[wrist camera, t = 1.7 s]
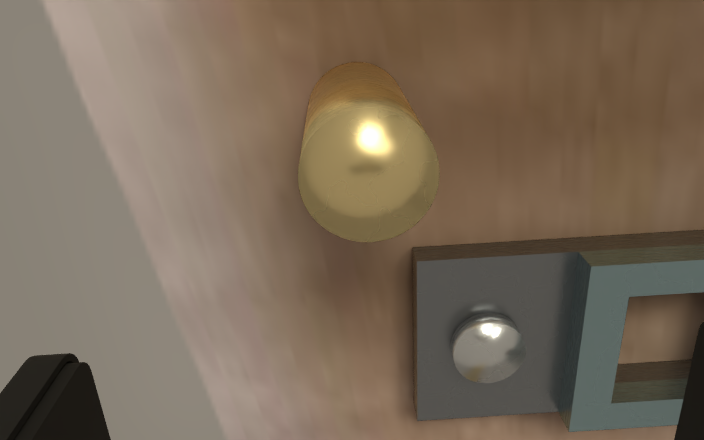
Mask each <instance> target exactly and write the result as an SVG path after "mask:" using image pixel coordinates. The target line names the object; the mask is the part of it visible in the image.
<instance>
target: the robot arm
mask: <svg viewBox="0 0 704 440" xmlns="http://www.w3.org/2000/svg"><path fill="white" fill-rule="evenodd" d="M0 440H111V439H110V436H109V433H108V429H107V425H106V422H105V418H104V415H103V411H102V407H101V404H100V400H99V397H98V393H97V390H96V386H95V383H94V379H93V375H92V372H91V369H90V367H89V365H88V364H87V363H85V362H82V363H81V362H80V363H79V361H78V359H77V357H76V356H75V355H73V354H70V353H69V354H54V355H39V356H32V357H30V358H28V359H27V360H26V361H25V363H24V364H23V365H22V366H21V367H20V369H19V370H18V371H17V373H16V374H15V375H14V376H13V378H12V379H11V380H10V382H9V383H8V384H7V385H6V387H5V388H4V389H3V391H2V392H1V393H0ZM674 440H704V322H703V323H702V324H701V326H700V328H699V331H698V336H697V340H696V345H695V349H694V354H693V358H692V363H691V367H690V372H689V376H688V381H687V385H686V390H685V394H684V399H683V403H682V408H681V412H680V417H679V421H678V425H677V430H676V434H675V439H674Z"/></svg>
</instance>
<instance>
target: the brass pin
mask: <svg viewBox="0 0 704 440" xmlns="http://www.w3.org/2000/svg"><path fill="white" fill-rule="evenodd" d="M439 175H440V173H439V163H438V158H437V155H436V152H435V149H434V147H433V145H432V143H431V141H430V139H429V137H428V136H427V134H426V132H425V131H424V129H423V127H422V125H421V124H420V122H419V120H418V118H417V117H416V115H415V113H414V112H413V110H412V108H411V106H410V105H409V103H408V101H407V99H406V98H405V96H404V94H403V93H402V91H401V89H400V87H399V86H398V84H397V83H396V81H395V80H394V79H393V78H392V77H391V75H389V74H388V73H387V72H386V71H384V70H383V69H381V68H380V67H377V66H375V65H372V64H369V63H363V62H351V63H345V64H342V65H339V66H337V67H335V68H333V69H331V70H329V71H328V72H327V73H326V74H324V75H323V76H322V77H321V78H320V79H319V81H318V82H317V83H316V85H315V87H314V89H313V91H312V93H311V95H310V99H309V104H308V110H307V117H306V123H305V130H304V136H303V142H302V149H301V155H300V162H299V169H298V185H299V191H300V194H301V198H302V200H303V203H304V205H305V207H306V209H307V210H308V212H309V213H310V215H311V216H312V217H313V218H314V219H315V221H316V222H317V223H319V224H320V225H321V226H322V227H323V228H325V229H326V230H327V231H329V232H331V233H332V234H334V235H336V236H339V237H341V238H344V239H347V240H351V241H357V242H377V241H383V240H387V239H390V238H393V237H396V236H398V235H400V234H402V233H404V232H406V231H407V230H409V229H410V228H412V227H413V226H414V225H415V224H416V223H418V222H419V221H420V220H421V219H422V217H423V216H424V215H425V214H426V212H427V211H428V210H429V208H430V206H431V205H432V203H433V201H434V198H435V196H436V193H437V189H438V185H439Z"/></svg>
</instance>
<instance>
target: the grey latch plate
mask: <svg viewBox="0 0 704 440" xmlns="http://www.w3.org/2000/svg"><path fill="white" fill-rule="evenodd" d="M698 244H704V230H695V231H679V232H662V233H645V234H629V235H612V236H596V237H579V238H562V239H546V240H529V241H513V242H496V243H480V244H463V245H446V246H430V247H413V359H414V405H415V411H416V416H417V421H422V420H437V419H453V418H469V417H484V416H500V415H515V414H531V413H547V412H559V404H560V396H561V388H562V380H563V372H564V364H565V355H566V347H567V339H568V331H569V323H570V315H571V307H572V299H573V291H574V283H575V274H576V266H577V258H578V252H582V251H599V250H615V249H632V248H648V247H665V246H681V245H698ZM691 363H692V360H681V361H665V362H649V363H633V364H618V365H617V371H616V377H615V383H624V382H640V381H656V380H671V379H687V378H688V376H689V372H690V367H691Z"/></svg>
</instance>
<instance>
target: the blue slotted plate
mask: <svg viewBox="0 0 704 440" xmlns="http://www.w3.org/2000/svg"><path fill="white" fill-rule="evenodd" d="M699 292H704V244H698V245H681V246H665V247H648V248H632V249H615V250H599V251H582V252H578V258H577V266H576V274H575V283H574V291H573V299H572V307H571V315H570V323H569V331H568V339H567V347H566V355H565V364H564V372H563V380H562V388H561V396H560V404H559V414H560V416H561V417H562V419H563V421H564V423H565V425H566V427H567V429H568V431H569V432H575V431H591V430H606V429H622V428H637V427H653V426H668V425H678V421H679V417H680V412H681V408H682V403H683V399H684V394H685V390H686V385H687V381H688V378H687V379H671V380H656V381H640V382H624V383H615V377H616V371H617V365H618V359H619V353H620V347H621V341H622V336H623V330H624V324H625V318H626V312H627V306H628V300H629V297H634V296H650V295H666V294H682V293H699Z"/></svg>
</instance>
